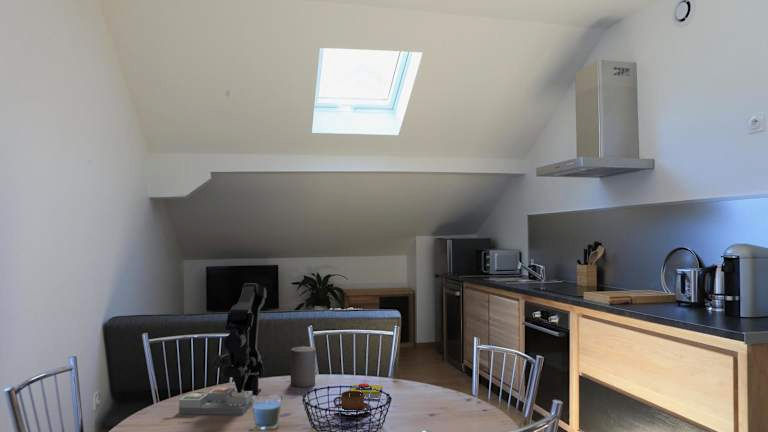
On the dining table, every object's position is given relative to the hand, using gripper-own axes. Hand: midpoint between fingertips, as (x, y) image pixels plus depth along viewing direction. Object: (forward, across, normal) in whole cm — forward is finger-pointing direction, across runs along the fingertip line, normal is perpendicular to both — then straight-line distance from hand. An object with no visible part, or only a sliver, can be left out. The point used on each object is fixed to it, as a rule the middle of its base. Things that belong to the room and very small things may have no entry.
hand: (239, 392), depth 186 cm
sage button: (+3, +4, -14) cm, 15 cm away
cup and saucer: (+5, +4, +39) cm, 39 cm away
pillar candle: (+5, -31, +16) cm, 35 cm away
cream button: (+3, 0, 0) cm, 3 cm away
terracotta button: (+3, -4, -7) cm, 9 cm away
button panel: (+5, 0, -7) cm, 9 cm away
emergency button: (+6, -16, +42) cm, 45 cm away
